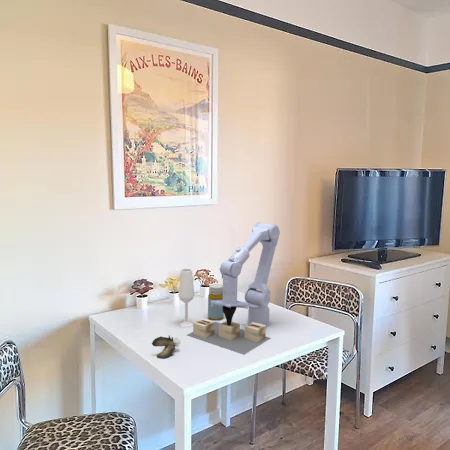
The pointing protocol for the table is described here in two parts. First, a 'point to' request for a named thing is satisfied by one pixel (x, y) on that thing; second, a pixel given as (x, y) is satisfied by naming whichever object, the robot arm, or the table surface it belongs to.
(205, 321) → the two-bar birch block
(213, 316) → the bottle
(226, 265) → the robot arm
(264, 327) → the one-bar birch block
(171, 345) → the eagle figurine
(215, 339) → the charcoal rubber mat
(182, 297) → the champagne flute
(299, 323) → the table surface
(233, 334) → the plain birch block
